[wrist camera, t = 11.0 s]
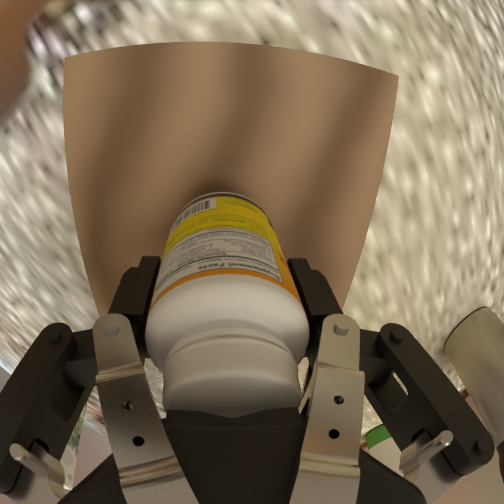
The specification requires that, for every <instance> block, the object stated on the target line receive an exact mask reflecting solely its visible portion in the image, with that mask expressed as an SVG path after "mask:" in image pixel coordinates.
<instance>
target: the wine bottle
mask: <svg viewBox="0 0 504 504" xmlns="http://www.w3.org/2000/svg"><path fill="white" fill-rule="evenodd" d="M366 443H367V446H368V449H369V452H370V455H371V456H373V457H374V458H375V459H377V460H378V461H380V462H381V463H383V464H384V465H386V466H387V467H389V468H390V469H392V470H393V471H395V472H396V473H398V474H399V475H401V476H402V477H404V476H403V473H401V472H400V471H399V465H400V456H401V451H400V450H399V448H398V446H397V445H396V443H395V442H394V440H393V438H392V437H391V435H390V434H389V432H388V430H387V429H386V427H385V426H384V424H383V425H381V426H379V427H377V428H375V429H373V430H372V431H371V432H369V433H368V435H367V436H366Z"/></svg>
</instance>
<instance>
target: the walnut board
mask: <svg viewBox="0 0 504 504" xmlns="http://www.w3.org/2000/svg"><path fill="white" fill-rule="evenodd" d="M398 78H399V76H397V75H394V74H391V73H388V72H385V71H382V70H379V69H376V68H373V67H369V66H366V65H362V64H359V63H355V62H351V61H347V60H343V59H339V58H335V57H331V56H326V55H321V54H317V53H311V52H306V51H300V50H294V49H288V48H281V47H273V46H265V45H255V44H243V43H227V42H171V43H154V44H143V45H133V46H125V47H118V48H111V49H105V50H99V51H93V52H88V53H83V54H79V55H74V56H70V57H66V58H65V63H64V86H63V113H64V137H65V151H66V162H67V171H68V180H69V187H70V195H71V201H72V207H73V213H74V219H75V224H76V229H77V234H78V239H79V244H80V248H81V252H82V257H83V261H84V265H85V269H86V273H87V276H88V280H89V284H90V287H91V291H92V294H93V297H94V301H95V304H96V307H97V310H98V313H99V316H100V317H102V316H104V315H107V314H108V311H109V309H110V306H111V303H112V301H113V298H114V296H115V293H116V291H117V288H118V285H119V284H120V281H121V278H122V276H123V274H124V273H125V272H126V271H127V270H128V269H129V268H130V267H138V266H139V263H140V261H141V258H142V256H160V258H161V261H162V258H163V254H164V251H165V247H166V244H167V240H168V237H169V234H170V231H171V227H172V225H173V223H174V220H175V219H176V217H177V215H178V214H179V212H180V211H181V210H182V209H183V208H184V207H185V206H186V205H187V204H188V203H190V202H191V201H192V200H194V199H196V198H198V197H200V196H203V195H205V194H209V193H214V192H231V193H236V194H240V195H242V196H245V197H247V198H249V199H251V200H252V201H254V202H255V203H257V204H258V205H259V206H260V207H261V208H262V209H263V210H264V212H265V213H266V214H267V216H268V217H269V219H270V221H271V224H272V226H273V228H274V231H275V234H276V236H277V239H278V242H279V244H280V247H281V250H282V252H283V254H284V257H285V260H286V263H287V260H288V258H306V259H307V261H308V263H309V266H310V268H311V270H318V271H319V272H320V273H322V274H323V275H324V276H325V277H326V279H327V281H328V283H329V286H330V287H331V289H332V293H334V295H335V297H336V300H337V302H338V304H339V306H340V308H341V310H342V308H343V306H344V303H345V300H346V297H347V294H348V291H349V288H350V286H351V283H352V280H353V277H354V273H355V270H356V267H357V264H358V261H359V258H360V254H361V251H362V248H363V245H364V241H365V238H366V234H367V231H368V227H369V223H370V220H371V216H372V212H373V209H374V205H375V201H376V197H377V193H378V189H379V184H380V180H381V176H382V171H383V167H384V162H385V157H386V152H387V147H388V142H389V137H390V131H391V126H392V120H393V114H394V107H395V100H396V93H397V86H398Z"/></svg>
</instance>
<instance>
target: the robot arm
mask: <svg viewBox="0 0 504 504" xmlns="http://www.w3.org/2000/svg"><path fill="white" fill-rule="evenodd" d="M160 265H161V258H160V256H142V258H141V261H140V263H139V266H138V267H130V268H129V269H128V270H127V271H126V272H125V273H124V274H123V276H122V278H121V281H120V284H119V285H118V288H117V291H116V293H115V296H114V298H113V301H112V303H111V306H110V309H109V311H108V314H107V315H104V316H102V317H100V318H99V319H98V320H97V321H96V322H95V323H94V325H93V328H92V329H89V330H84V331H79V332H73V333H72V330H71V328H70V327H69V326H68V325H67V324H65V323H53V324H50V325H48V326H47V327H45V328H44V329H43V330H42V331H41V333H40V334H39V335H38V337H37V338H36V340H35V341H34V342H33V344H32V345H31V347H30V348H29V349H28V351H27V352H26V354H25V355H24V357H23V358H22V360H21V361H20V363H19V364H18V366H17V367H16V369H15V370H14V372H13V373H12V375H11V377H10V378H9V380H8V381H7V383H6V385H5V386H4V388H3V390H2V391H1V393H0V495H2V496H4V497H7V498H9V499H11V500H12V501H14V502H15V503H16V504H431V503H432V502H433V501H435V500H436V499H437V498H438V497H440V496H441V495H442V494H443V493H445V492H446V491H447V490H448V489H449V488H450V487H451V486H453V485H454V484H455V483H456V482H457V481H458V480H460V479H462V478H464V477H466V476H467V475H469V474H470V473H472V472H474V471H476V470H477V469H479V468H480V467H482V466H484V465H485V464H487V463H488V462H489V461H490V460H491V459H492V457H493V455H494V450H495V449H494V448H495V446H497V447H496V449H497V451H498V454H499V466H500V472H501V476H502V479H503V482H504V324H503V322H502V321H501V320H500V319H499V317H498V316H497V315H496V314H495V313H493V312H492V311H491V309H490V308H487V307H485V308H481V309H479V310H477V311H475V312H474V313H472V314H471V315H470V316H468V317H467V318H466V319H465V320H464V321H463V322H462V323H461V324H460V325H459V326H458V327H457V328H456V329H455V330H454V331H453V333H452V334H451V335H450V337H449V338H448V340H447V342H446V344H445V347H444V352H445V354H446V355H447V357H448V359H449V360H450V362H451V364H452V365H453V367H454V369H455V370H456V372H457V374H458V376H459V377H460V379H461V381H462V383H463V384H464V386H465V388H466V390H467V391H468V393H469V395H470V397H471V398H472V400H473V402H474V404H475V406H476V408H477V410H478V412H479V414H480V415H481V418H482V419H483V422H484V423H485V426H486V427H487V429H488V431H487V429H486V428H485V427H484V425H483V424H482V422H481V421H480V420H479V418H478V417H477V416H476V414H475V413H474V411H473V410H472V409H471V407H470V406H469V405H468V403H467V402H466V401H465V399H464V398H463V397H462V395H461V394H460V393H459V392H458V390H457V389H456V388H455V386H454V385H453V384H452V383H451V381H450V380H449V379H448V378H447V376H446V375H445V374H444V373H443V371H442V370H441V369H440V368H439V366H438V365H437V364H436V363H435V361H434V360H433V359H432V358H431V357H430V355H429V354H428V353H427V352H426V351H425V349H424V348H423V347H422V346H421V345H420V343H419V342H418V341H417V340H416V339H415V338H414V336H413V335H412V334H411V333H410V332H409V331H408V330H407V329H406V328H405V327H403V326H401V325H399V324H395V323H388V324H385V325H384V326H383V327H382V328H381V330H380V332H375V331H369V330H363V329H360V328H359V325H358V324H357V322H356V321H355V320H354V319H352V318H351V317H349V316H347V315H344V314H343V312H342V310H341V308H340V306H339V304H338V302H337V300H336V297H335V295H334V293H332V289H331V287H330V286H329V283H328V281H327V279H326V277H325V276H324V275H323V274H322V273H320V272H319V271H318V270H311V268H310V266H309V263H308V261H307V259H306V258H288V260H287V265H288V268H289V271H290V273H291V276H292V278H293V281H294V284H295V287H296V289H297V291H298V295H299V297H300V300H301V303H302V305H303V308H304V311H305V314H306V318H307V321H308V325H309V334H310V336H309V343H308V347H307V350H306V353H305V355H304V357H308V360H309V364H308V367H307V370H306V375H305V380H304V384H303V389H302V393H301V395H302V400H301V404H300V406H299V408H298V406H296V407H286V408H275V409H265V410H262V411H259V412H255V413H252V414H248V415H244V416H241V417H237V418H230V417H225V416H220V415H215V414H211V413H206V412H202V411H187V410H167V413H166V418H163V419H161V417H160V414H159V411H158V409H157V406H156V403H155V401H154V398H153V395H152V392H151V389H150V386H149V383H148V380H147V377H146V374H145V371H144V368H143V367H144V362H145V358H150V356H149V354H148V351H147V348H146V342H145V330H146V323H147V317H148V312H149V308H150V304H151V300H152V296H153V292H154V288H155V284H156V280H157V276H158V272H159V269H160ZM304 357H303V358H304ZM394 372H395V373H396V375H397V376H398V377H399V379H400V380H401V382H402V383H403V384H404V386H405V387H406V389H407V392H408V396H407V394H406V393H405V391H404V390H403V389H402V387H401V386H400V384H399V383H398V382H397V380H396V379H395V377H394V376H393V373H394ZM94 386H97V390H98V395H99V400H100V405H101V409H102V414H103V418H104V422H105V426H106V430H107V434H108V438H109V442H110V445H111V449H112V452H113V453H112V454H111V455H110V456H109V457H107V459H105V460H104V461H103V462H102V463H101V464H100V465H99V466H98V467H97V468H95V469H94V470H93V471H92V472H91V473H90V474H89V475H88V476H87V477H86V478H84V479H83V480H82V481H81V482H80V483H79V484H78V485H77V486H76V487H74V488H73V489H72V490H71V491H70V492H69V493H68V494H66V495H65V492H64V484H65V472H64V468H63V466H62V464H61V463H60V460H61V458H62V455H63V453H64V451H65V448H66V446H67V444H68V441H69V439H70V437H71V434H72V432H73V430H74V428H75V425H76V423H77V421H78V419H79V417H80V415H81V412H82V410H83V408H84V406H85V404H86V402H87V400H88V398H89V396H90V394H91V392H92V390H93V388H94ZM364 394H365V396H366V397H367V399H368V400H369V402H370V404H371V405H372V407H373V408H374V410H375V411H376V413H377V415H378V416H379V418H380V419H381V421H382V422H383V424H384V426H385V427H386V429H387V430H388V432H389V434H390V435H391V437H392V438H393V440H394V442H395V443H396V445H397V446H398V448H399V450H400V451H401V456H400V465H399V471H400V472H401V473H403V476H404V477H402V476H401V475H399V474H398V473H396V472H395V471H393V470H392V469H390V468H389V467H387V466H386V465H384V464H383V463H381V462H380V461H378V460H377V459H375V458H374V457H373V456H371V455H370V454H368V453H367V452H365V451H364V450H363V449H361V448H360V439H361V429H362V417H363V403H364ZM494 444H495V445H494Z"/></svg>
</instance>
